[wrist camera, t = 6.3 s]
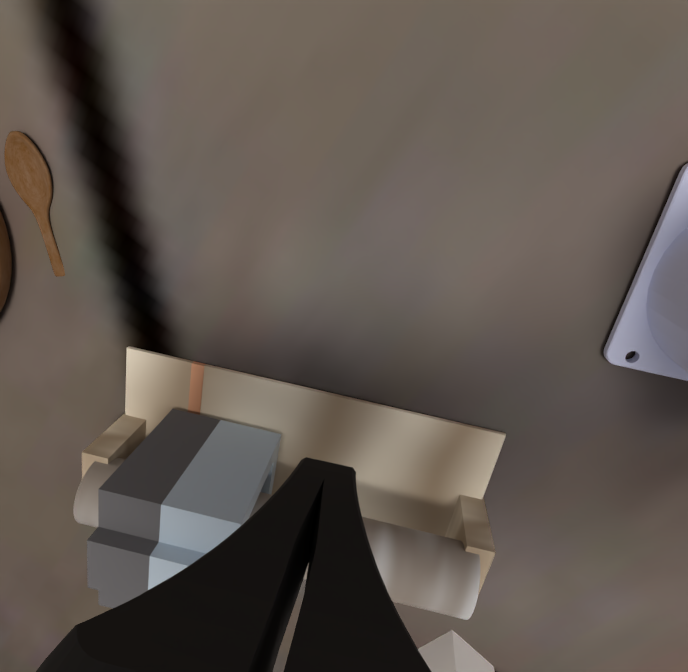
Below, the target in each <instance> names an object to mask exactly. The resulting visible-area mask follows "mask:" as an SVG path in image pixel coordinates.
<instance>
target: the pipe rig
mask: <svg viewBox="0 0 688 672" xmlns="http://www.w3.org/2000/svg"><path fill="white" fill-rule="evenodd" d="M172 409H176V410H181V411H185V412H189V413H193V414H198V415H202V416H206V417H210V418H215V419H219V420H223V421H227V422H232V423H236V424H240V425H244V426H248V427H253V428H257V429H261V430H265V431H270V432H274V433H278V434H281V440H280V446H279V452H278V458H277V464H276V470H275V476H274V482H273V488H272V494H267V493H263V492H260V494H259V496H258V498H257V501H256V503H255V505H254V508H253V510H252V512H251V514H250V517H251V516H252V515H253V514H254V513H256V512H257V511H258V510H259V509H260V508H261V507H262V506H263V505H264V504H265V503H266V502H267V501H268V500H269V498H270V497H271V496H272V495H273V494H274V493H275V492H276V491H277V490H278V489H279V488H280V487H281V485H282V484H283V483H284V482H285V481H286V480H287V478H288V477H289V476H290V475H291V473H292V472H293V471H294V469H295V468H296V467H297V465H298V464H299V462H300V461H301V460H302V459H303V458H305V457H308V458H312V459H317V460H321V461H326V462H331V463H335V464H340V465H344V466H349V467H353V468H354V470H355V471H356V487H357V495H358V500H359V506H360V510H361V515H362V519H363V523H364V526H365V530H366V534H367V537H368V541H369V544H370V547H371V550H372V553H373V556H374V559H375V562H376V564H377V567H378V570H379V572H380V575H381V577H382V580H383V582H384V584H385V587H386V589H387V591H388V593H389V596H390V598H391V600H392V601H393V602H397V603H401V604H405V605H409V606H413V607H417V608H421V609H425V610H429V611H433V612H437V613H441V614H445V615H449V616H453V617H457V618H461V619H465V620H468V619H469V618H470V617H471V615H472V613H473V611H474V608H475V605H476V602H477V597H478V595H479V593H480V590H481V588H482V585H483V583H484V580H485V578H486V575H487V573H488V570H489V568H490V565H491V563H492V560H493V558H494V556H495V553H496V552H495V548H494V543H493V538H492V534H491V529H490V524H489V520H488V515H487V511H486V506H485V501H484V497H483V496H484V493H485V491H486V488H487V485H488V483H489V480H490V477H491V474H492V472H493V469H494V466H495V464H496V461H497V458H498V456H499V453H500V450H501V448H502V445H503V442H504V439H505V437H506V434H505V433H503V432H499V431H494V430H490V429H486V428H481V427H477V426H473V425H468V424H464V423H460V422H455V421H451V420H447V419H442V418H438V417H434V416H429V415H425V414H421V413H416V412H412V411H408V410H403V409H399V408H395V407H390V406H386V405H382V404H377V403H373V402H369V401H364V400H360V399H356V398H351V397H347V396H343V395H338V394H334V393H330V392H325V391H321V390H317V389H312V388H308V387H304V386H299V385H295V384H291V383H286V382H282V381H278V380H273V379H269V378H265V377H260V376H256V375H252V374H247V373H243V372H239V371H234V370H230V369H226V368H221V367H217V366H213V365H208V364H204V363H200V362H195V361H191V360H187V359H182V358H178V357H174V356H169V355H165V354H161V353H156V352H152V351H148V350H143V349H139V348H135V347H130V346H129V347H127V359H126V404H125V413H124V414H123V415H122V416H121V417H120V418H119V419H118V420H117V421H115V422H114V423H113V424H112V425H111V426H110V427H109V428H108V429H107V430H106V431H105V432H103V433H102V434H101V435H100V436H99V437H98V438H97V439H96V440H95V441H94V442H93V443H91V444H90V445H89V446H88V447H87V448H86V449H85V450H84V451H83V452H82V481H81V483H80V485H79V488H78V490H77V493H76V497H75V502H74V517H75V520H76V521H77V522H78V523H81V524H85V525H89V526H93V527H97V528H98V489H99V488H100V487H101V486H102V485H103V484H104V482H105V481H106V480H107V479H108V478H109V477H110V476H111V475H112V474H113V473H114V472H115V471H116V469H117V468H118V467H119V466H120V465H121V464H122V463H123V462H124V461H125V460H126V459H127V458H128V456H129V455H130V454H131V453H132V452H133V451H134V450H135V449H136V448H137V447H138V446H139V445H140V443H141V442H142V441H143V440H144V439H145V438H146V437H147V436H148V435H149V434H150V433H151V432H152V430H153V429H154V428H155V427H156V426H157V425H158V424H159V423H160V422H161V421H162V420H163V419H164V417H165V416H166V415H167V414H168V413H169V412H170V411H171V410H172ZM250 517H249V518H250ZM308 565H309V563H308ZM307 572H308V566H307V569H306V572H305V575H304V578H303V579H305V580H306V579H307Z"/></svg>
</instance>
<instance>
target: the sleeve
mask: <svg viewBox="0 0 688 672" xmlns="http://www.w3.org/2000/svg"><path fill="white" fill-rule="evenodd" d="M280 440H281V434H278V433H274V432H270V431H265V430H261V429H257V428H253V427H248V426H244V425H240V424H236V423H232V422H227V421H223V420H220V422H219V423H218V424H217V426H216V427H215V429H214V430H213V432H212V433H211V434H210V436H209V437H208V439H207V440H206V442H205V443H204V444H203V446H202V447H201V449H200V450H199V451H198V453H197V454H196V456H195V457H194V459H193V460H192V461H191V463H190V464H189V466H188V467H187V468H186V470H185V471H184V473H183V474H182V476H181V477H180V478H179V480H178V481H177V483H176V484H175V486H174V487H173V488H172V490H171V491H170V493H169V494H168V495H167V497H166V498H165V500H164V501H163V503H162V504H161V514H160V531H159V542H158V544H157V546H156V547H155V549H154V550H153V552H152V553H151V555H150V560H149V580H148V590H149V589H151V588H153V587H155V586H156V585H158V584H160V583H162V582H163V581H165V580H167V579H169V578H170V577H172V576H174V575H175V574H177V573H179V572H180V571H182V570H183V569H185V568H186V567H188V566H189V565H191V564H192V563H194V562H195V561H196V560H198V559H199V558H201V557H202V556H204V555H205V554H206V553H208V552H209V551H211V550H212V549H213V548H215V547H216V546H217V545H218V544H220V543H221V542H222V541H224V540H225V539H226V538H227V537H229V536H230V535H231V534H232V533H233V532H235V531H236V530H237V529H238V528H239V527H240V526H242V525H243V524H244V523H245V522H246V521H247V520H248V519H249V517H250V514H251V512H252V510H253V508H254V505H255V503H256V501H257V498H258V496H259V494H260V492H263V493H267V494H272V488H273V482H274V476H275V470H276V464H277V458H278V452H279V446H280Z"/></svg>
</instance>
